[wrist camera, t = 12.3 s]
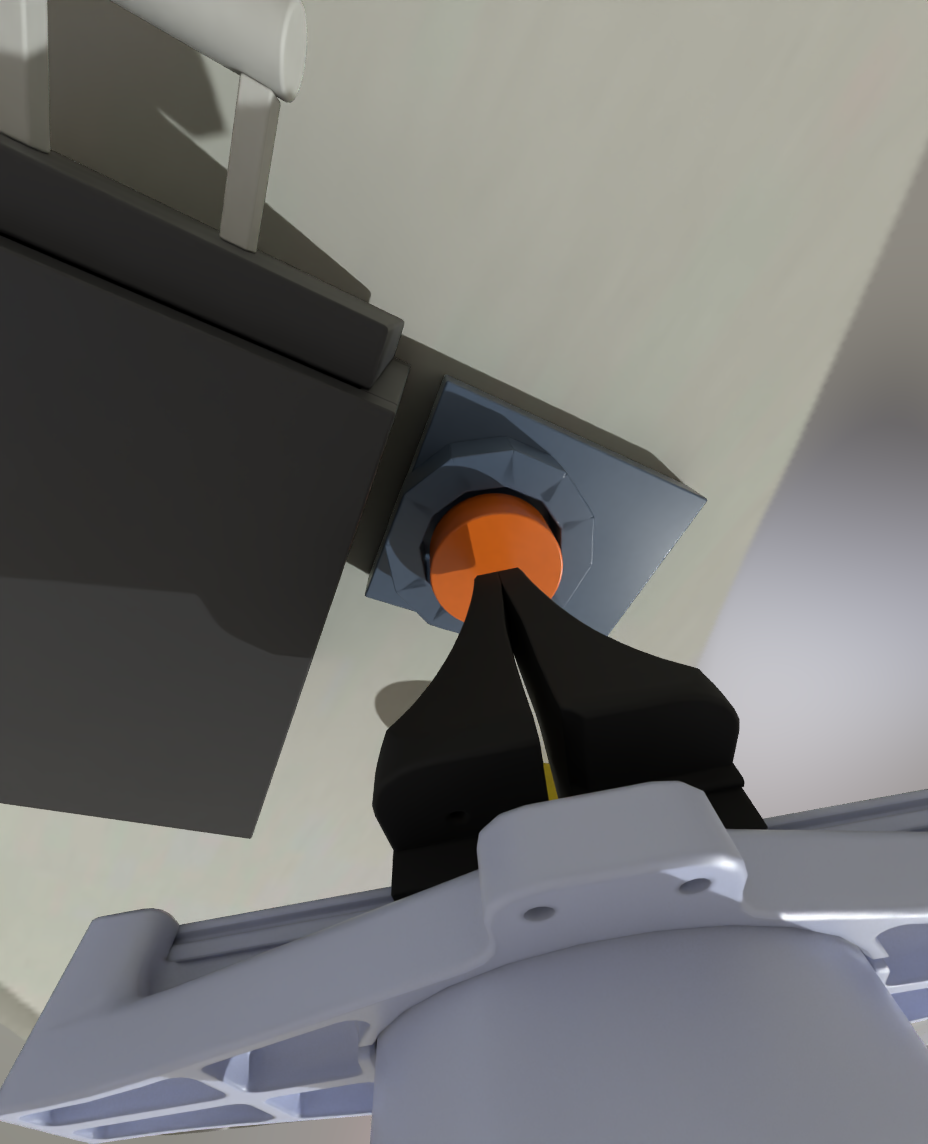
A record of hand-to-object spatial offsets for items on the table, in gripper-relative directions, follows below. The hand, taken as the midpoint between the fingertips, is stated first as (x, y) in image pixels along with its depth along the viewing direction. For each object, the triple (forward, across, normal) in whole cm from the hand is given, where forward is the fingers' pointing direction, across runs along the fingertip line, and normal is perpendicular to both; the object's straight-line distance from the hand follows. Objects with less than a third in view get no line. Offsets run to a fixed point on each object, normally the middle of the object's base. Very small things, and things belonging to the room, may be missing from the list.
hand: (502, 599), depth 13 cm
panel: (+6, -2, +1) cm, 7 cm away
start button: (+3, 0, 0) cm, 3 cm away
